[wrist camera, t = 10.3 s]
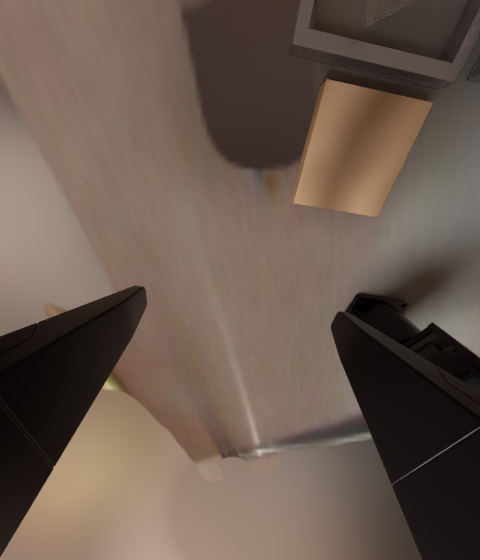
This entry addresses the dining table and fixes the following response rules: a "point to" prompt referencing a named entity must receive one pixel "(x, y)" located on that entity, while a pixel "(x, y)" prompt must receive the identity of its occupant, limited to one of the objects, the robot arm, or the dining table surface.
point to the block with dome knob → (383, 9)
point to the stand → (356, 147)
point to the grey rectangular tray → (388, 51)
